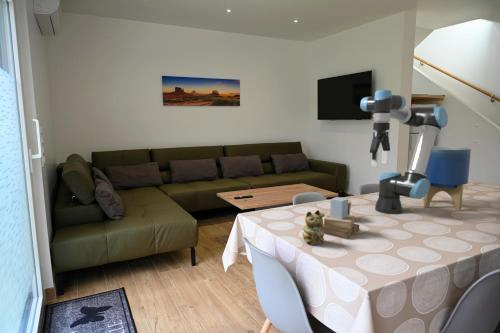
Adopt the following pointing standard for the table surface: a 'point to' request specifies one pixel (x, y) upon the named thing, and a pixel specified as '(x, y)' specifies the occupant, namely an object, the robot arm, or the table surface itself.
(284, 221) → the table surface
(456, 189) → the planter
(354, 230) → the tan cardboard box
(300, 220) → the table surface
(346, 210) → the block
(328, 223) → the slab upper
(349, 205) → the mug
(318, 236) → the decorative figurine
